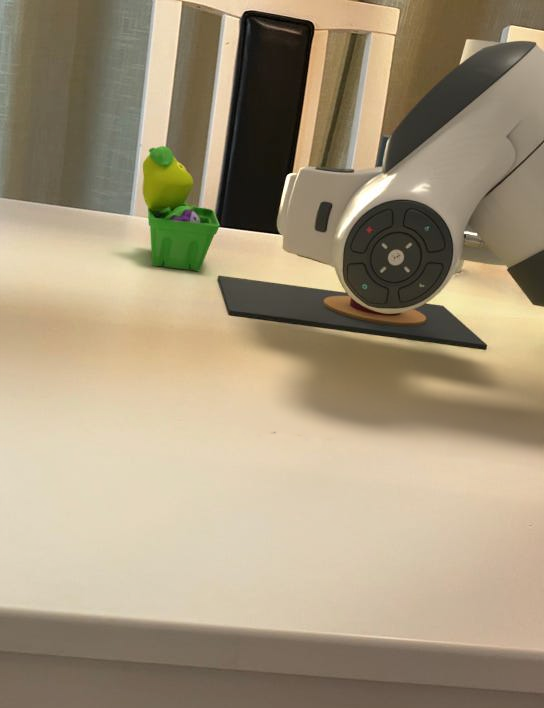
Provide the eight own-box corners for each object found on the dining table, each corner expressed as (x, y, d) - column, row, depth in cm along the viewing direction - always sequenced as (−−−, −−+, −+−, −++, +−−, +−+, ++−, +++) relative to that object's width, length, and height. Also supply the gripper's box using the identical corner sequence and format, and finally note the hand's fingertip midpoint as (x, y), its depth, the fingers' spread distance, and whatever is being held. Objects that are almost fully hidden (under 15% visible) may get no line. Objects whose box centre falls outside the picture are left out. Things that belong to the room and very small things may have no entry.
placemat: (442, 309, 106) (444, 302, 106) (486, 349, 93) (488, 341, 92) (217, 279, 106) (218, 272, 106) (228, 314, 93) (230, 306, 92)
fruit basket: (212, 275, 107) (233, 160, 102) (129, 265, 107) (146, 148, 101) (205, 256, 117) (224, 149, 111) (130, 246, 117) (145, 139, 111)
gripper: (551, 207, 75) (532, 190, 87) (280, 163, 79) (297, 153, 90) (521, 293, 78) (507, 266, 90) (262, 247, 82) (281, 227, 94)
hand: (400, 209), depth 90 cm, fingers open, 8 cm apart
